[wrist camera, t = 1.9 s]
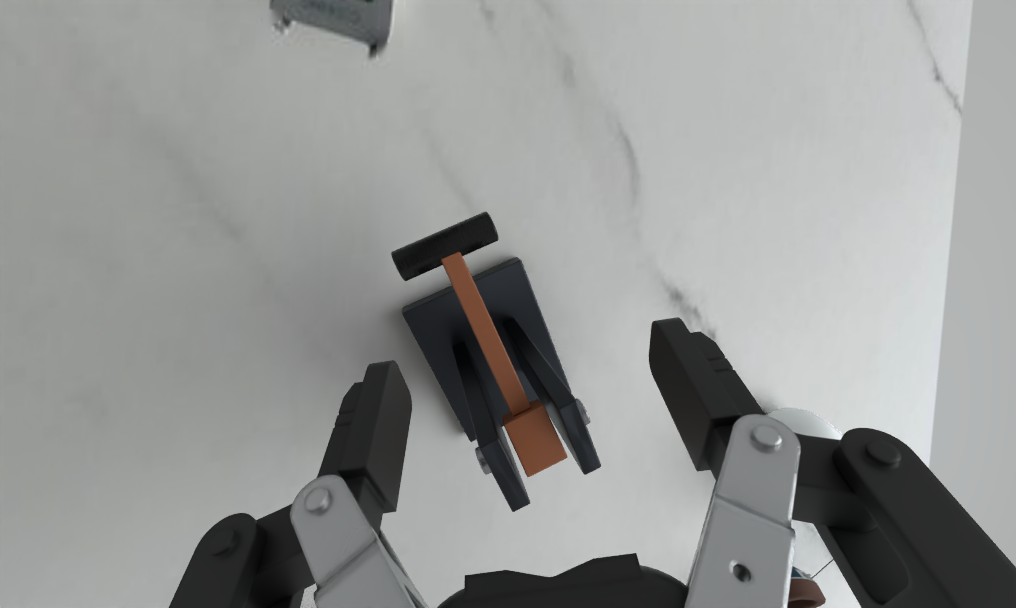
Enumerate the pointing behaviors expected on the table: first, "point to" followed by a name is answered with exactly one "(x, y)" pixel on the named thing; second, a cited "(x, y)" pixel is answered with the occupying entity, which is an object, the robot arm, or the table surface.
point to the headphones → (804, 590)
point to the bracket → (473, 382)
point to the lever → (486, 335)
